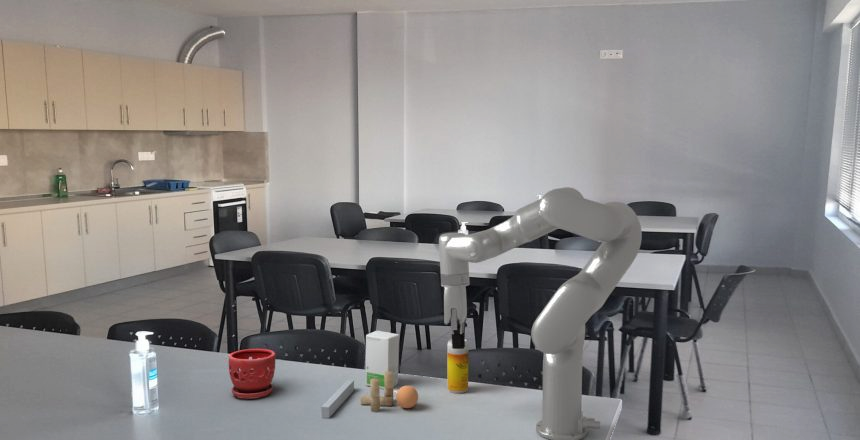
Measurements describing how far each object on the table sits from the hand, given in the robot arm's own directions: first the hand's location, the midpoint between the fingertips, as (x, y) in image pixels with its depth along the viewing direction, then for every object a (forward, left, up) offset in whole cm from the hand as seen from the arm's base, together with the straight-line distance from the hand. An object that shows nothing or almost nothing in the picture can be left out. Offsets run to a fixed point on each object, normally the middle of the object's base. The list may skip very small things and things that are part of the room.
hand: (458, 347), depth 185 cm
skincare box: (+26, -17, -18) cm, 36 cm away
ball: (+14, 0, -15) cm, 20 cm away
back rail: (+34, 0, -18) cm, 38 cm away
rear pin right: (+20, -4, -18) cm, 27 cm away
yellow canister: (+3, -16, -18) cm, 24 cm away
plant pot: (+61, -3, -18) cm, 63 cm away
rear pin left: (+22, +3, -18) cm, 29 cm away
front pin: (+19, -1, -17) cm, 25 cm away
